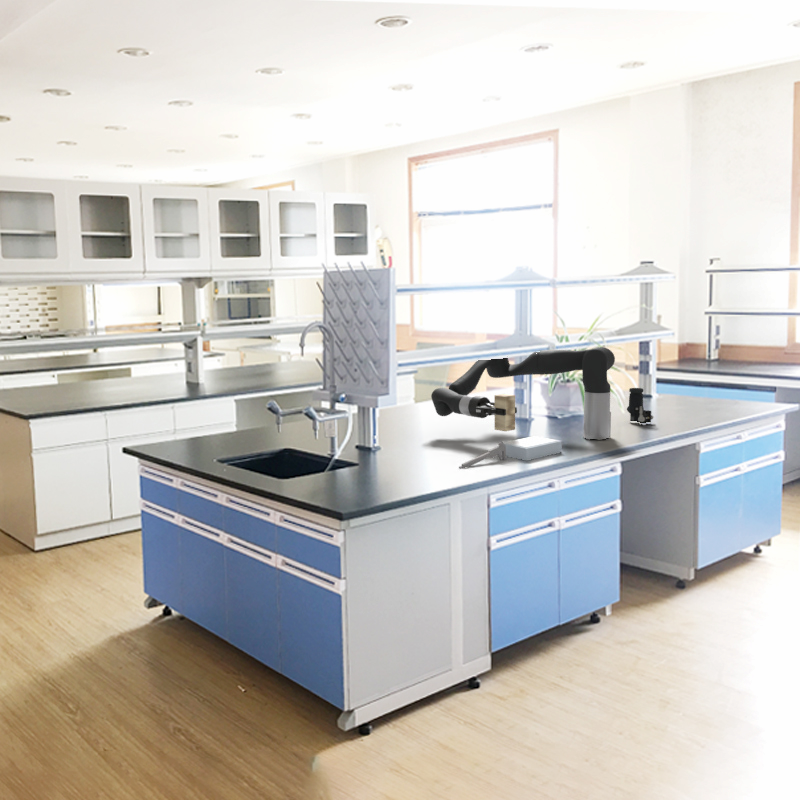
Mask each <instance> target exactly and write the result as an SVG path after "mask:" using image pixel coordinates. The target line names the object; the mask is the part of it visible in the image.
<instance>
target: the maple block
mask: <svg viewBox="0 0 800 800" xmlns="http://www.w3.org/2000/svg"><path fill="white" fill-rule="evenodd" d="M494 402H495V407H496V408H501V409H506V415H504V416H503V415H494V430H495V431H499V432H500V431H501V432H509V431H514V430H516V413H515V407H516V395H515V394H509V393H501V394H495V395H494Z"/></svg>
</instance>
